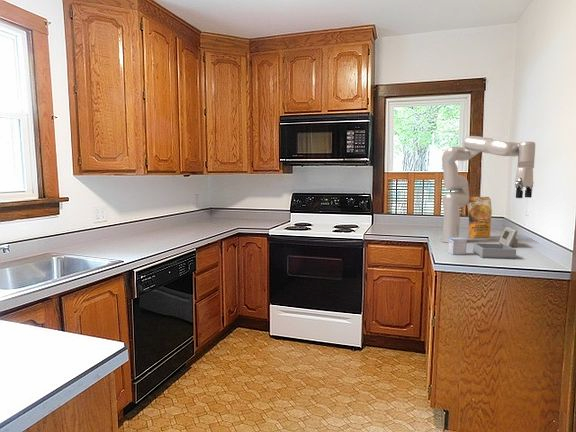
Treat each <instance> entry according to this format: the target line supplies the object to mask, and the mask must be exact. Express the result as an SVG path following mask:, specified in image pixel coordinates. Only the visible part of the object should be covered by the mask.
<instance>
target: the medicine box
mask: <svg viewBox="0 0 576 432" xmlns="http://www.w3.org/2000/svg"><path fill="white" fill-rule="evenodd" d="M467 242H468V239H467V238H464V237H459V238H449V243H448V251H447V252H448V254H449V255H453V256H457V255H467Z"/></svg>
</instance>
